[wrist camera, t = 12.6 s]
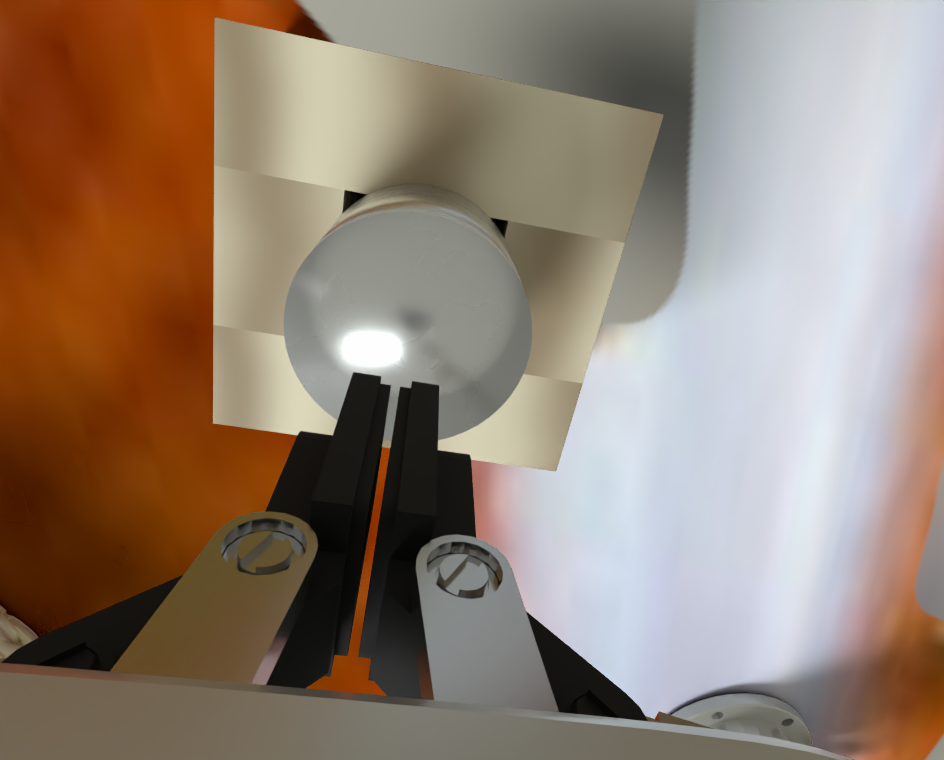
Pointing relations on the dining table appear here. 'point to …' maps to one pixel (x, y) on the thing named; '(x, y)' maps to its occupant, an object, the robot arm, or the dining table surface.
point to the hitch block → (398, 162)
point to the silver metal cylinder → (411, 306)
